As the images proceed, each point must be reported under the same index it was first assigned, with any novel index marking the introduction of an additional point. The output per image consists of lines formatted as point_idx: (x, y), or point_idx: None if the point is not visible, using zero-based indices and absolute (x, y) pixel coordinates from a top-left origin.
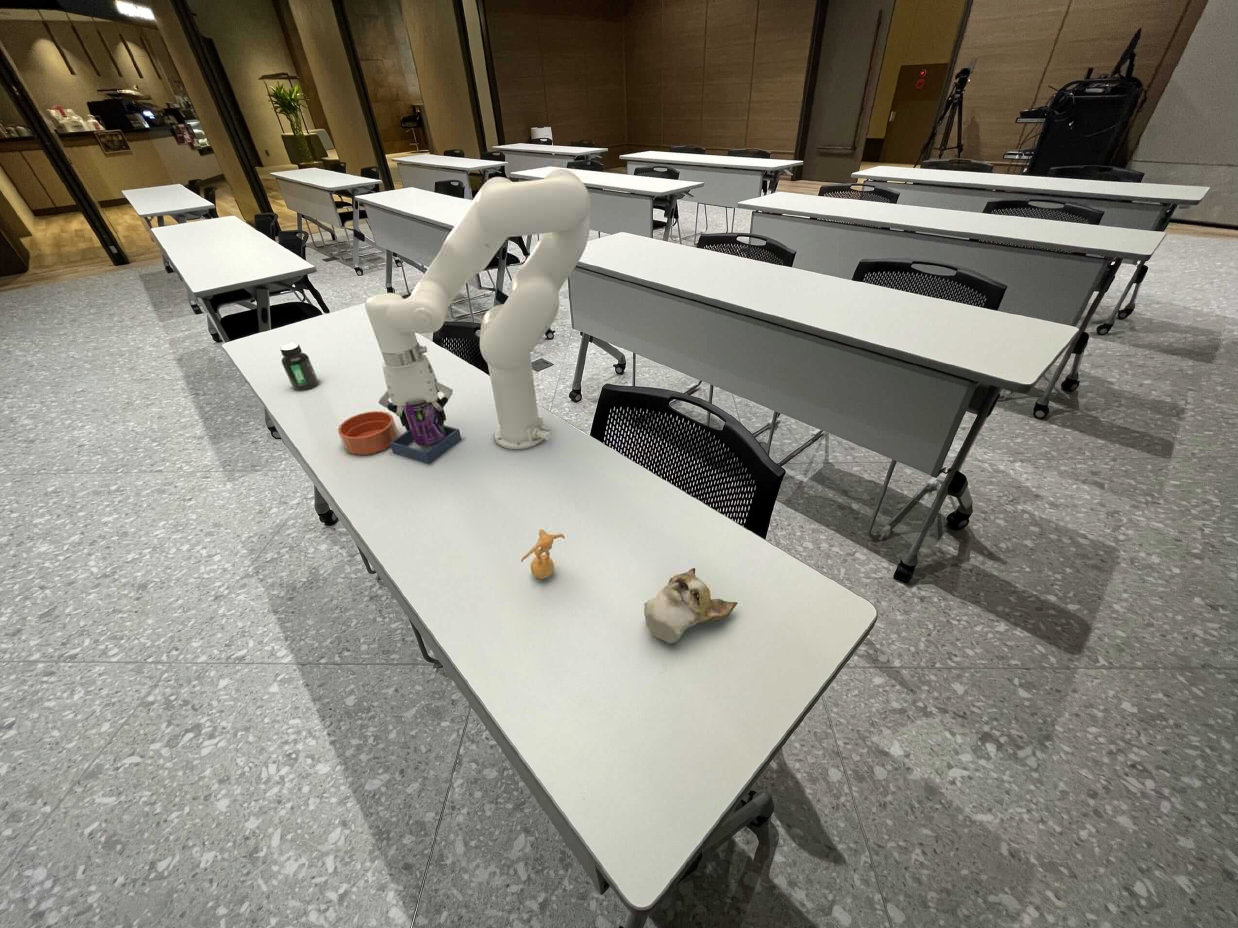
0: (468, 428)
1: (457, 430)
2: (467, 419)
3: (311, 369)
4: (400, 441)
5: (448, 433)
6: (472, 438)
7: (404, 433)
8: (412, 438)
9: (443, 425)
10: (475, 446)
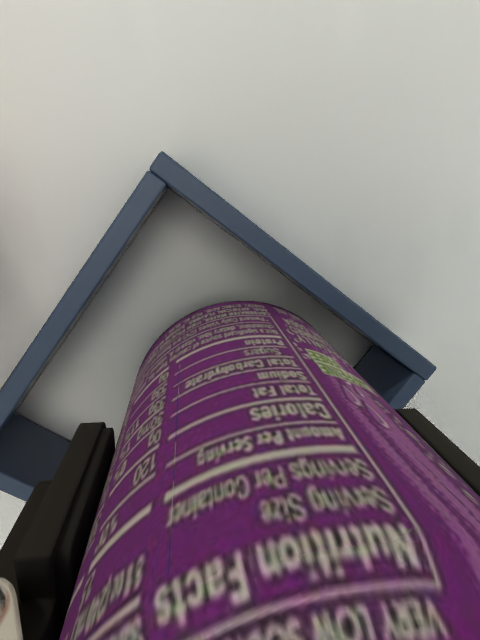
0: (440, 215)
1: (425, 379)
2: (447, 80)
3: None
4: (22, 397)
5: (339, 316)
6: (448, 337)
7: (36, 360)
8: (89, 302)
9: (335, 295)
10: (453, 415)
